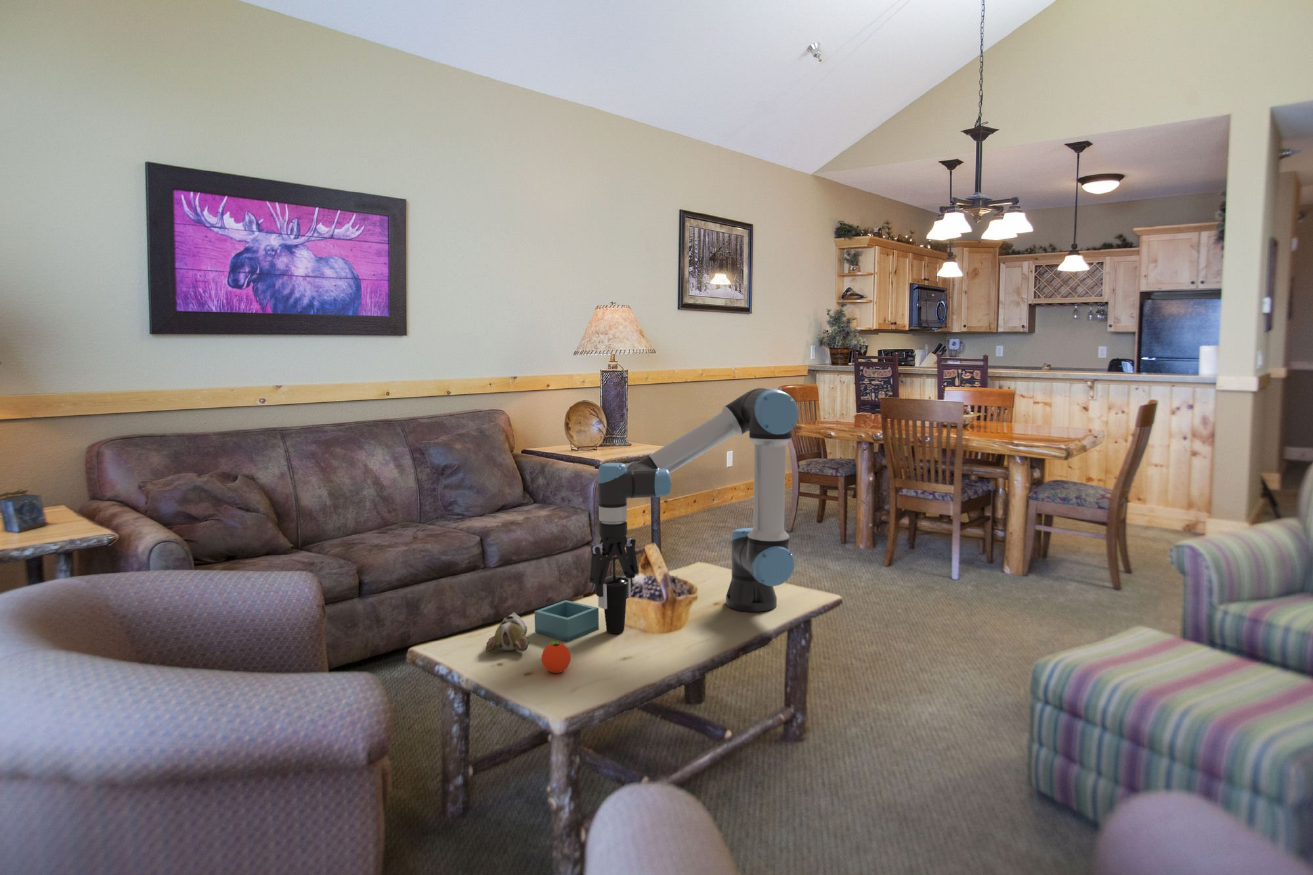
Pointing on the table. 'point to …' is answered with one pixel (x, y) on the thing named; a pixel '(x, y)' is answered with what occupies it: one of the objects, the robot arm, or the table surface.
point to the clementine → (556, 657)
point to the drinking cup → (615, 602)
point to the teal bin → (566, 620)
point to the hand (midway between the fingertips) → (614, 604)
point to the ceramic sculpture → (509, 635)
